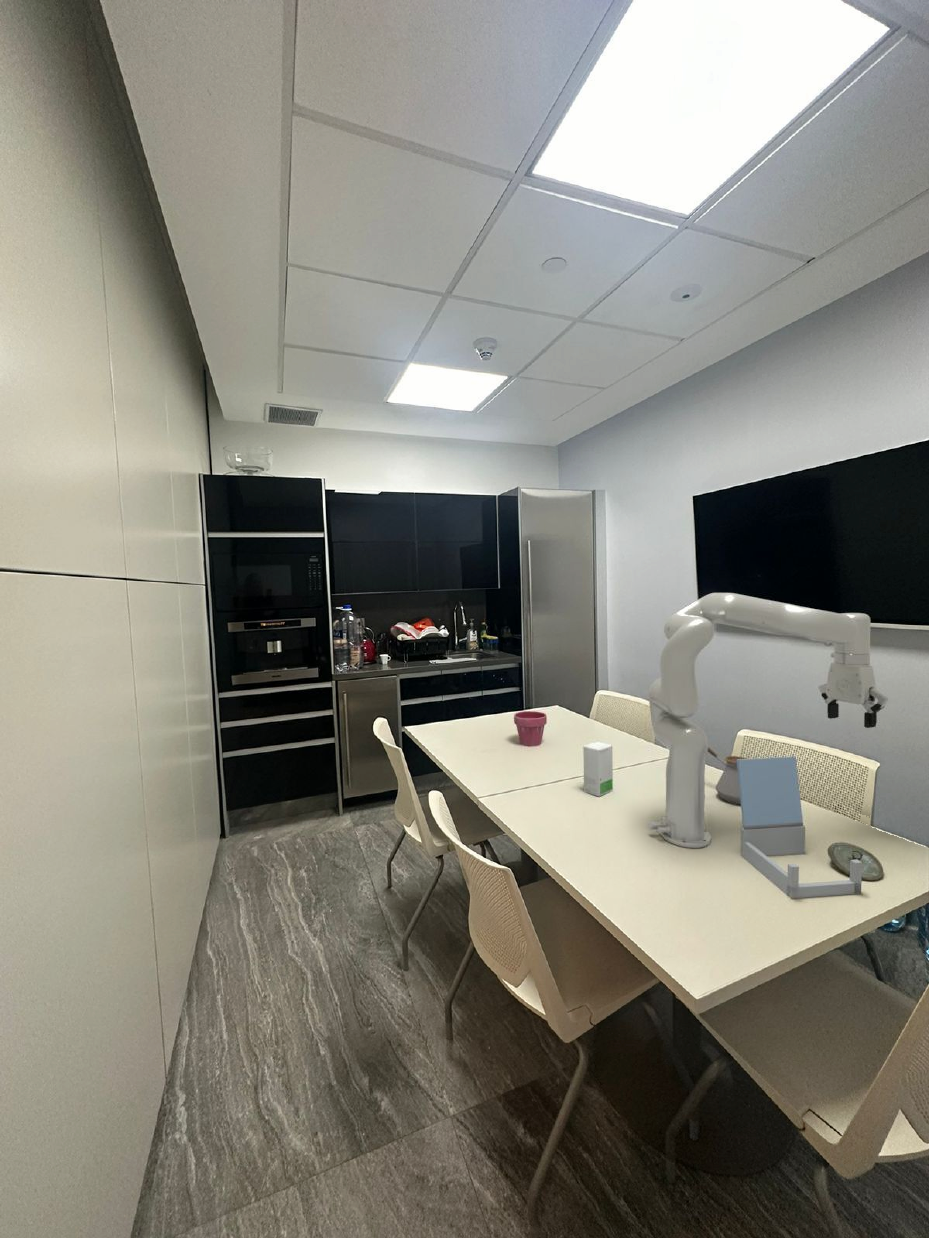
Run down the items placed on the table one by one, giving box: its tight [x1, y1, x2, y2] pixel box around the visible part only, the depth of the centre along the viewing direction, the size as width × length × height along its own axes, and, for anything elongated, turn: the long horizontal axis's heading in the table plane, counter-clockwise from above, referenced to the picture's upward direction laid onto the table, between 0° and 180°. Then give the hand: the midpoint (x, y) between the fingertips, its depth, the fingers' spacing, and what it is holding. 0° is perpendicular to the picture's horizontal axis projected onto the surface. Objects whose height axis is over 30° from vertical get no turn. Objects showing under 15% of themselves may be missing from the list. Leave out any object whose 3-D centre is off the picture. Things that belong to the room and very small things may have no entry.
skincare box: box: [582, 741, 614, 798], centre depth 163 cm, size 8×7×16 cm
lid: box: [827, 841, 884, 882], centre depth 116 cm, size 11×10×5 cm
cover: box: [737, 756, 804, 829], centre depth 123 cm, size 15×17×1 cm
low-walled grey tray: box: [740, 824, 862, 899], centre depth 115 cm, size 16×17×7 cm
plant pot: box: [513, 710, 548, 747], centre depth 215 cm, size 14×14×13 cm
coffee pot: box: [707, 746, 747, 805], centre depth 159 cm, size 21×12×15 cm, turn 23°
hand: (850, 722), depth 132 cm, fingers open, 9 cm apart
